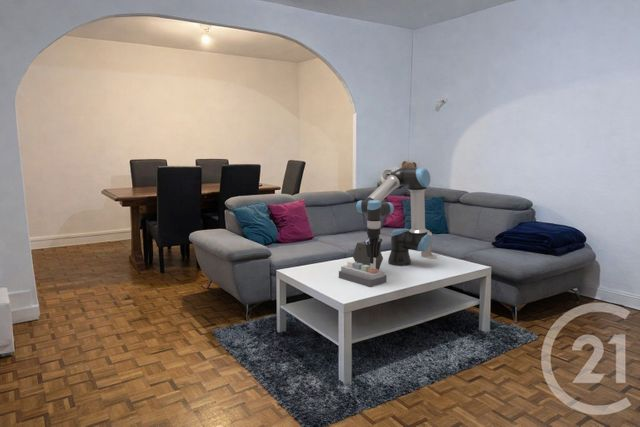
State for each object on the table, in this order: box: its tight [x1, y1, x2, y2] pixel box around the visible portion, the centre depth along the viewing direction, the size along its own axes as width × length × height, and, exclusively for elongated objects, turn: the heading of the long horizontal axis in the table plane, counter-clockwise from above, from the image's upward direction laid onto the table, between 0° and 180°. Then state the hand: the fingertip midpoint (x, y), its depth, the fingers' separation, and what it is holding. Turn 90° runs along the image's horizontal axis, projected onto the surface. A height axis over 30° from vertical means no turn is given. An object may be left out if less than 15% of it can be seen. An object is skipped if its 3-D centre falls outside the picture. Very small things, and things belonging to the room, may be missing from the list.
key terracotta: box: [368, 268, 378, 274], centre depth 258 cm, size 4×4×3 cm
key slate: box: [354, 263, 364, 270], centre depth 266 cm, size 4×4×3 cm
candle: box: [420, 229, 438, 259], centre depth 320 cm, size 7×14×20 cm, turn 42°
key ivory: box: [346, 260, 357, 268], centre depth 270 cm, size 4×4×3 cm
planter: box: [352, 241, 384, 271], centre depth 284 cm, size 17×8×21 cm
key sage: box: [361, 265, 370, 272], centre depth 262 cm, size 4×4×3 cm
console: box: [338, 264, 387, 288], centre depth 264 cm, size 14×25×6 cm, turn 42°
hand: (372, 268), depth 257 cm, fingers closed
